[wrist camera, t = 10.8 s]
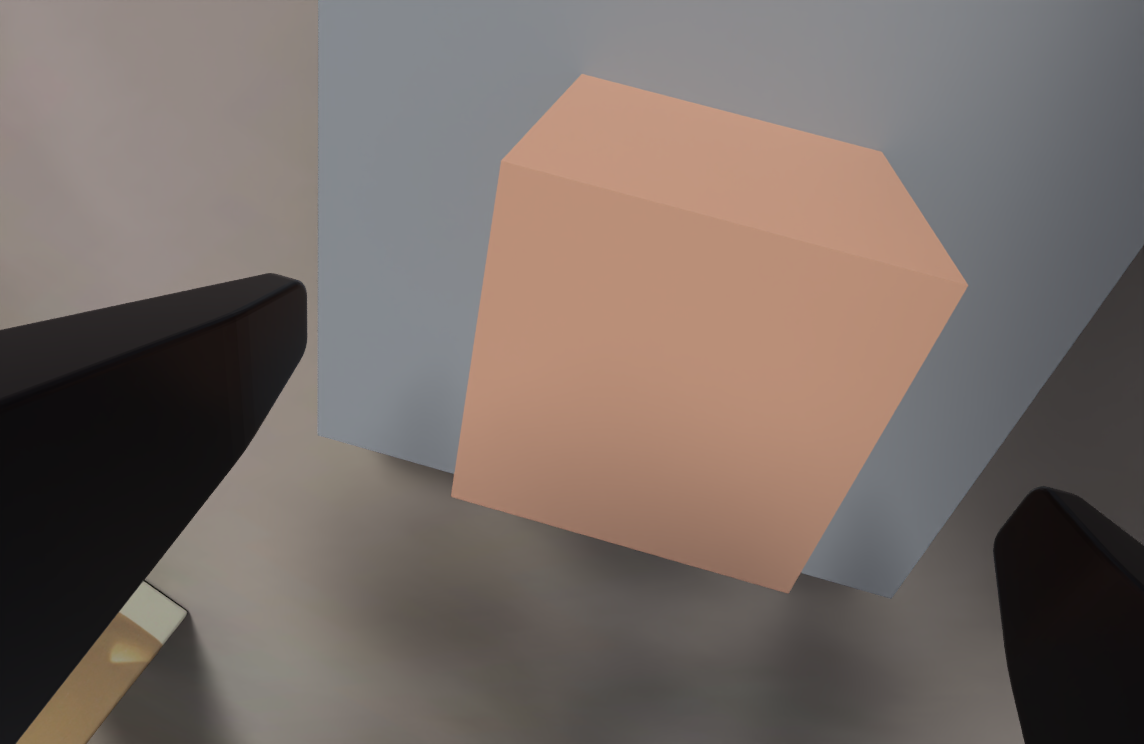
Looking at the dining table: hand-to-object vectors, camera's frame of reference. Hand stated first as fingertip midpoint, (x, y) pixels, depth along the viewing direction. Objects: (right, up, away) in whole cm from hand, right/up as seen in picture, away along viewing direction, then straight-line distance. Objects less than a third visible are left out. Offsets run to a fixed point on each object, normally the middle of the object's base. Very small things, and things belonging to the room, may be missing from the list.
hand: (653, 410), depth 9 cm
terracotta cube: (+1, +3, +4) cm, 5 cm away
